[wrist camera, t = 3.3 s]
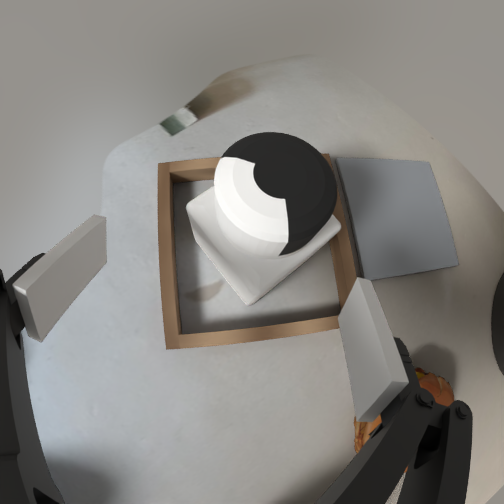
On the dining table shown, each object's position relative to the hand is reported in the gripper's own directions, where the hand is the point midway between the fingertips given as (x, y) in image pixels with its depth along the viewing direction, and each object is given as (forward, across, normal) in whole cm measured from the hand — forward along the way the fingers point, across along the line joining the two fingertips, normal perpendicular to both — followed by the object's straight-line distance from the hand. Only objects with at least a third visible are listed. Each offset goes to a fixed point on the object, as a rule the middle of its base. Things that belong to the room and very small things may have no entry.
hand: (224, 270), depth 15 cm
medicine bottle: (+10, +2, -4) cm, 11 cm away
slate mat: (+14, +15, +2) cm, 21 cm away
